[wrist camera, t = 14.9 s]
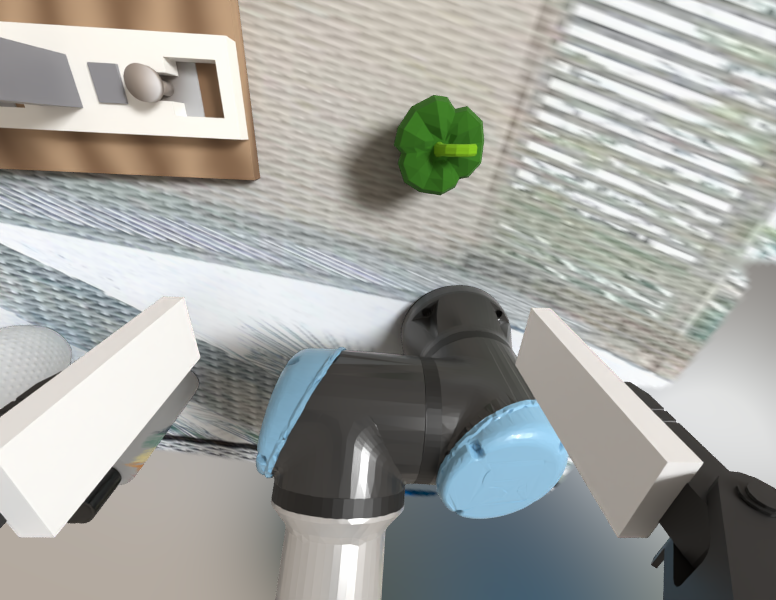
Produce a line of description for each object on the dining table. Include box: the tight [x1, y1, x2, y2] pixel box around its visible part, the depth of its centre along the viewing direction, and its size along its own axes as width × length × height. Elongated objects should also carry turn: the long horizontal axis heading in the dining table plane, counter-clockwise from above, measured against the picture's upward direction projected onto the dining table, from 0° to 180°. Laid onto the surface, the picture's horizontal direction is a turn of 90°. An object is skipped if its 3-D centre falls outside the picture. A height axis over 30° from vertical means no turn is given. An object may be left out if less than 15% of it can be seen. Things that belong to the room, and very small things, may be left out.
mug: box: [0, 325, 72, 409], centre depth 41 cm, size 15×11×13 cm
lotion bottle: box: [67, 371, 199, 523], centre depth 41 cm, size 6×6×20 cm
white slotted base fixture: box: [0, 21, 248, 140], centre depth 25 cm, size 28×8×12 cm, turn 87°
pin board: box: [0, 0, 260, 180], centre depth 30 cm, size 32×16×6 cm, turn 87°
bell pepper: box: [394, 95, 484, 195], centre depth 31 cm, size 8×8×10 cm
